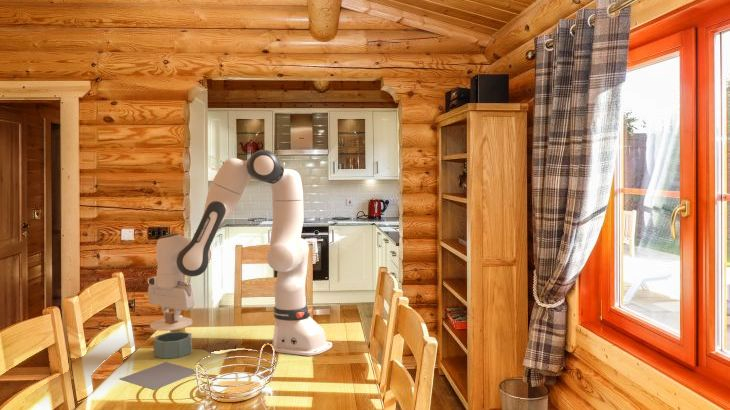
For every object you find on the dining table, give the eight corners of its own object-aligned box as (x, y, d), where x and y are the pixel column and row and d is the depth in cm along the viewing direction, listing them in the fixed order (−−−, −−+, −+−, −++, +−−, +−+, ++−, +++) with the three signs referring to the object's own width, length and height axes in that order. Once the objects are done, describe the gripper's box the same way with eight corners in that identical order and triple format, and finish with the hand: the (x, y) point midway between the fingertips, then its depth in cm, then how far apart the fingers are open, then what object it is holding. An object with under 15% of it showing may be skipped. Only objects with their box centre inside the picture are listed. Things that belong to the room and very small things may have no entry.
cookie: (213, 357, 186) (213, 354, 186) (201, 348, 196) (201, 346, 195) (246, 350, 193) (246, 347, 193) (232, 341, 203) (232, 339, 203)
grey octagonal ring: (198, 351, 191) (198, 334, 191) (170, 361, 181) (169, 344, 180) (176, 346, 197) (175, 330, 197) (147, 355, 187) (147, 338, 187)
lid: (201, 322, 191) (201, 310, 190) (168, 333, 179) (167, 320, 178) (175, 317, 198) (174, 305, 198) (141, 326, 186) (141, 314, 186)
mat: (200, 372, 171) (200, 371, 171) (154, 391, 156) (154, 389, 156) (165, 363, 180) (165, 361, 180) (118, 380, 165) (118, 378, 165)
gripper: (198, 281, 185) (199, 321, 185) (159, 276, 195) (160, 313, 196) (183, 285, 179) (184, 326, 180) (144, 279, 190) (145, 317, 191)
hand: (171, 319), depth 188 cm, fingers closed on lid, 3 cm apart
